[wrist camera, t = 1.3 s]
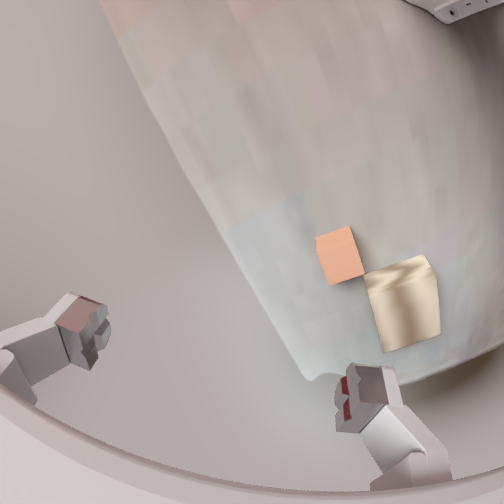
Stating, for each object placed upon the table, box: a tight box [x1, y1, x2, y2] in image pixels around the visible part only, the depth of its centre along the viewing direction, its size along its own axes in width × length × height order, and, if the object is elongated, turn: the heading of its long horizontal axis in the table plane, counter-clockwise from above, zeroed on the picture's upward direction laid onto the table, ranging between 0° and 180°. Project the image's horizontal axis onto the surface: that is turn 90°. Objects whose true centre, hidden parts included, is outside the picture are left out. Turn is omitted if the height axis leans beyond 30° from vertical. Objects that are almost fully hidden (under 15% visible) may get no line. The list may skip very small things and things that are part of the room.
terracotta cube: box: [316, 226, 365, 285], centre depth 40 cm, size 5×5×5 cm
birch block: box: [363, 254, 441, 353], centre depth 42 cm, size 10×12×6 cm
